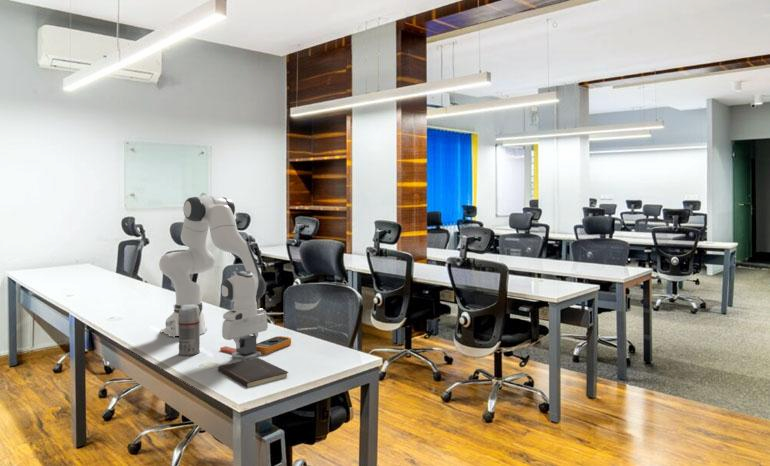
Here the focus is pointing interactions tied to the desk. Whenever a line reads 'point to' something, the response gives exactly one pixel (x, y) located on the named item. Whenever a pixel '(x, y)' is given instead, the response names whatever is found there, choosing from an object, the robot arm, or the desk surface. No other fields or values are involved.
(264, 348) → the multimeter
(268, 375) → the hardcover book
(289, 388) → the desk surface
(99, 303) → the desk surface
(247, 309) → the robot arm
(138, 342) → the desk surface
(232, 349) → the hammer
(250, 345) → the brushed metal cube
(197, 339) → the spray can
